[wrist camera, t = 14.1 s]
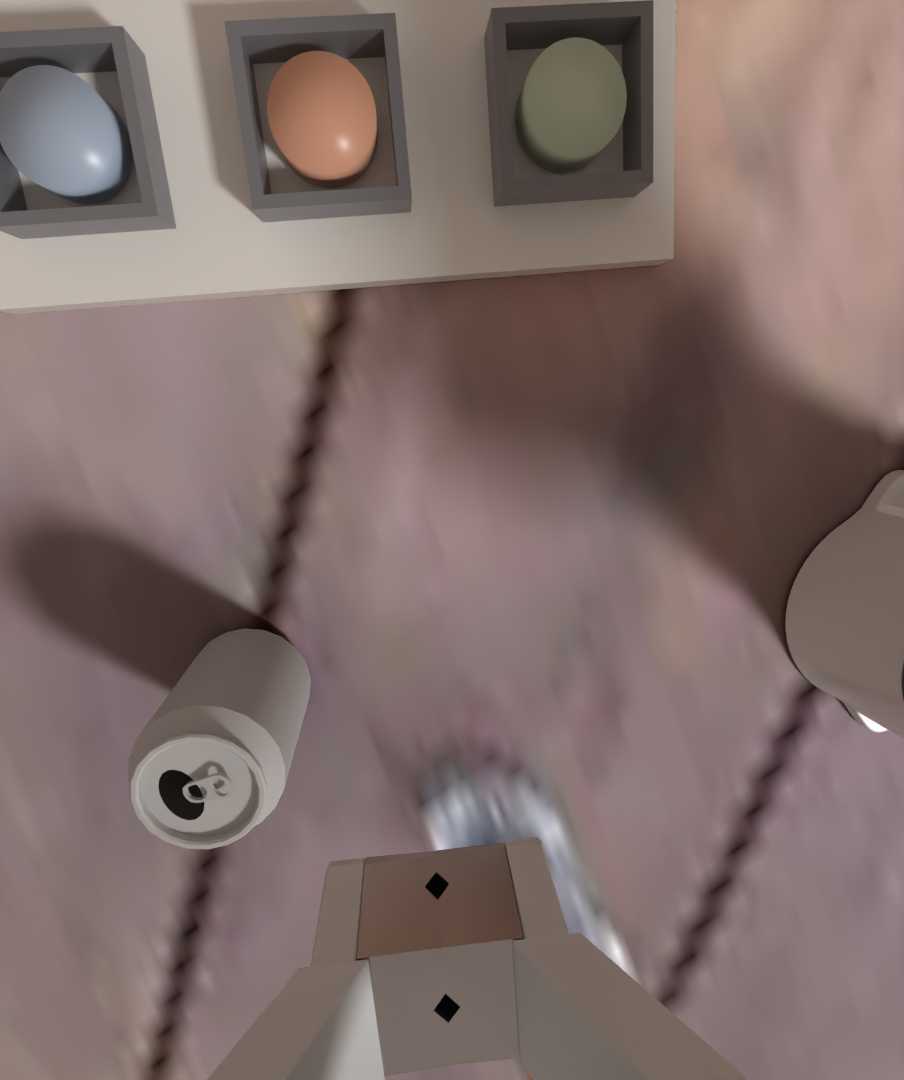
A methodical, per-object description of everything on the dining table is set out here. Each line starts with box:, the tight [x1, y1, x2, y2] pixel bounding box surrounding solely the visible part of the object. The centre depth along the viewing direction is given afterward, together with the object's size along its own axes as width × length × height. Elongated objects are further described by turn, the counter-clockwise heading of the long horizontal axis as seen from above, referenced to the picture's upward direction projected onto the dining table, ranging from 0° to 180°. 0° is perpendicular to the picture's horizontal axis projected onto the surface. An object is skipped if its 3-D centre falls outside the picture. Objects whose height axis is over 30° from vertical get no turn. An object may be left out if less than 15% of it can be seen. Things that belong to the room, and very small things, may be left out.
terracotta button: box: [267, 51, 378, 188], centre depth 30 cm, size 5×5×2 cm
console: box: [0, 0, 676, 314], centre depth 31 cm, size 36×14×4 cm, turn 95°
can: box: [129, 628, 311, 849], centre depth 34 cm, size 8×8×12 cm
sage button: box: [515, 37, 627, 173], centre depth 30 cm, size 5×5×2 cm
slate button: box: [0, 65, 133, 204], centre depth 29 cm, size 5×5×2 cm
